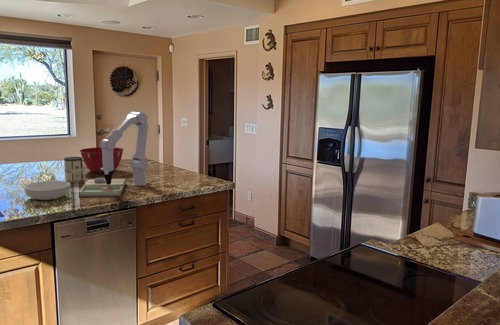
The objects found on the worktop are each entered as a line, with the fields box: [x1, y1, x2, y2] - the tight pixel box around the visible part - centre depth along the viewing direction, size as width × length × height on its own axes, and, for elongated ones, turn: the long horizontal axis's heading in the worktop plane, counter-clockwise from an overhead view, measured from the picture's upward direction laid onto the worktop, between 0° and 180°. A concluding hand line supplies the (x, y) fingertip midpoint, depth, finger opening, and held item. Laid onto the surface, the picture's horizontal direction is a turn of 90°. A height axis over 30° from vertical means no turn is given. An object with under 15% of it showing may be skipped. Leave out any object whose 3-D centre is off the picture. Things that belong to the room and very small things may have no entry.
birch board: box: [82, 178, 126, 189], centre depth 226 cm, size 16×21×3 cm
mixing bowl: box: [79, 146, 125, 174], centre depth 267 cm, size 28×28×16 cm
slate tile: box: [94, 177, 105, 183], centre depth 225 cm, size 5×5×2 cm
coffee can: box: [63, 156, 84, 183], centre depth 239 cm, size 10×10×14 cm
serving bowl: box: [23, 180, 71, 201], centre depth 199 cm, size 21×21×7 cm
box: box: [78, 186, 124, 198], centre depth 212 cm, size 13×21×3 cm, turn 103°
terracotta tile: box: [102, 187, 113, 191], centre depth 213 cm, size 5×5×2 cm
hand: (108, 184), depth 218 cm, fingers closed
